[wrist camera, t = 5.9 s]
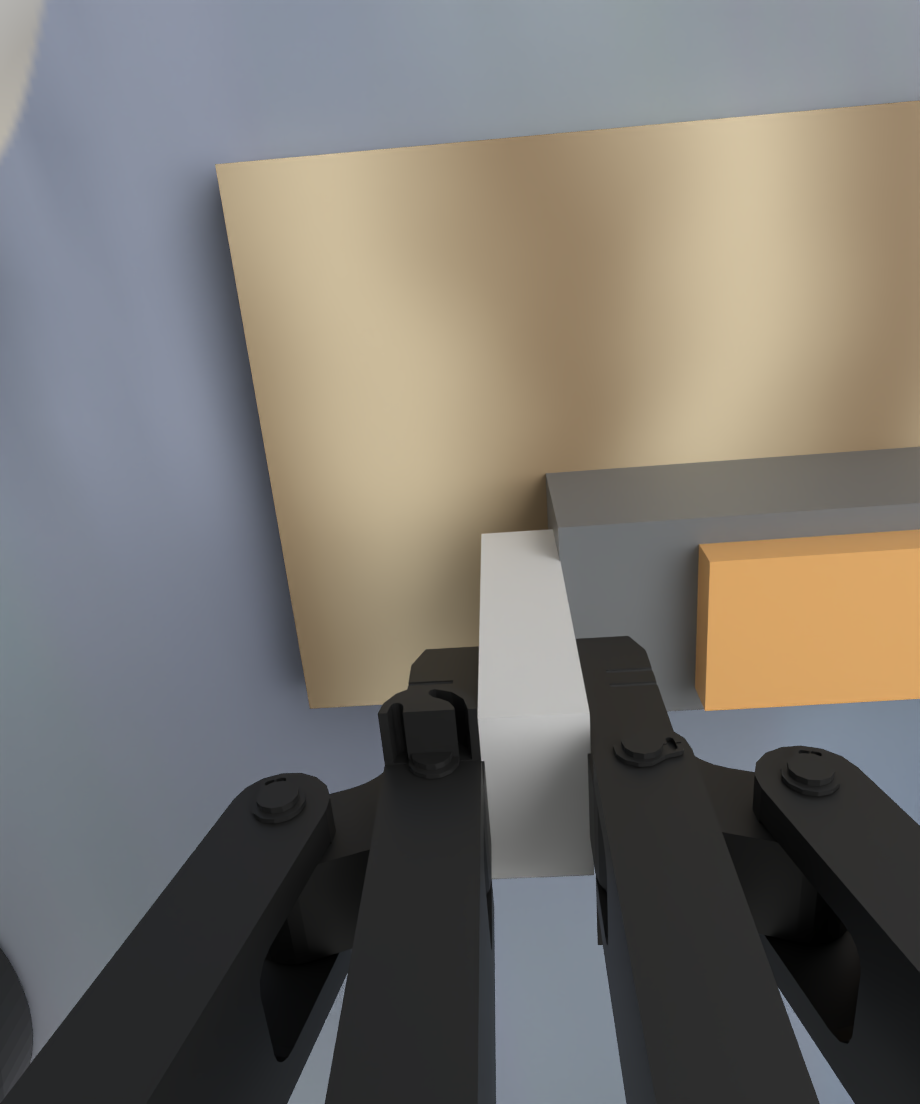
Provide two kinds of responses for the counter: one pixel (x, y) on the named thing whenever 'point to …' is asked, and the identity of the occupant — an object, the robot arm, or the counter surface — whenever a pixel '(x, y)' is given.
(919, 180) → the plywood panel
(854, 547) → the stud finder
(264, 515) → the counter surface
